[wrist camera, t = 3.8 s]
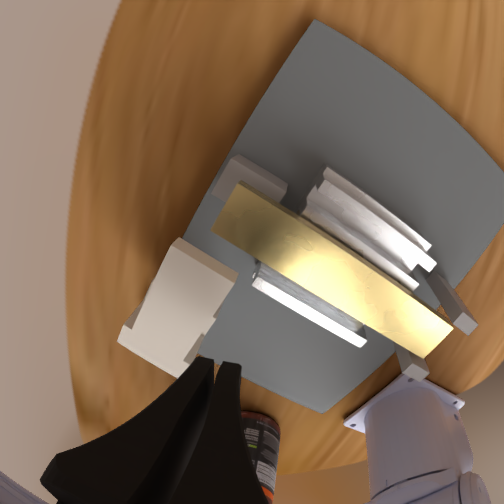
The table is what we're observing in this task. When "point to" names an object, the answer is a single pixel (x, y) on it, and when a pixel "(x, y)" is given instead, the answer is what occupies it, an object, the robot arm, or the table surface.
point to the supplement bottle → (263, 448)
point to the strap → (328, 269)
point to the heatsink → (356, 239)
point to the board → (366, 177)
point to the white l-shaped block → (178, 308)
